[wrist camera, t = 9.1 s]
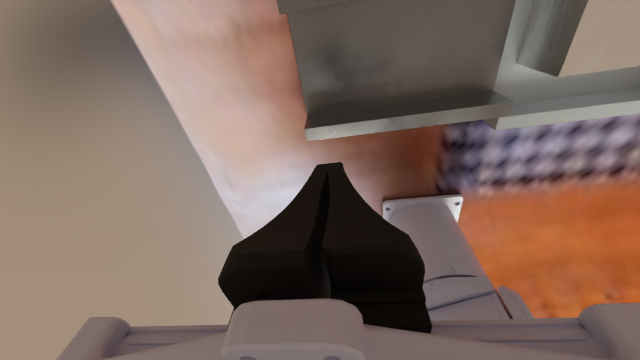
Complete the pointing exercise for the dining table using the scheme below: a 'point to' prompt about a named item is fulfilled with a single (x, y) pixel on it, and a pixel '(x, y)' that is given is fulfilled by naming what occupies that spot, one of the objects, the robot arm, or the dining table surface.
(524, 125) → the tray
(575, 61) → the cream cube
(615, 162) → the dining table surface
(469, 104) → the rail
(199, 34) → the dining table surface
